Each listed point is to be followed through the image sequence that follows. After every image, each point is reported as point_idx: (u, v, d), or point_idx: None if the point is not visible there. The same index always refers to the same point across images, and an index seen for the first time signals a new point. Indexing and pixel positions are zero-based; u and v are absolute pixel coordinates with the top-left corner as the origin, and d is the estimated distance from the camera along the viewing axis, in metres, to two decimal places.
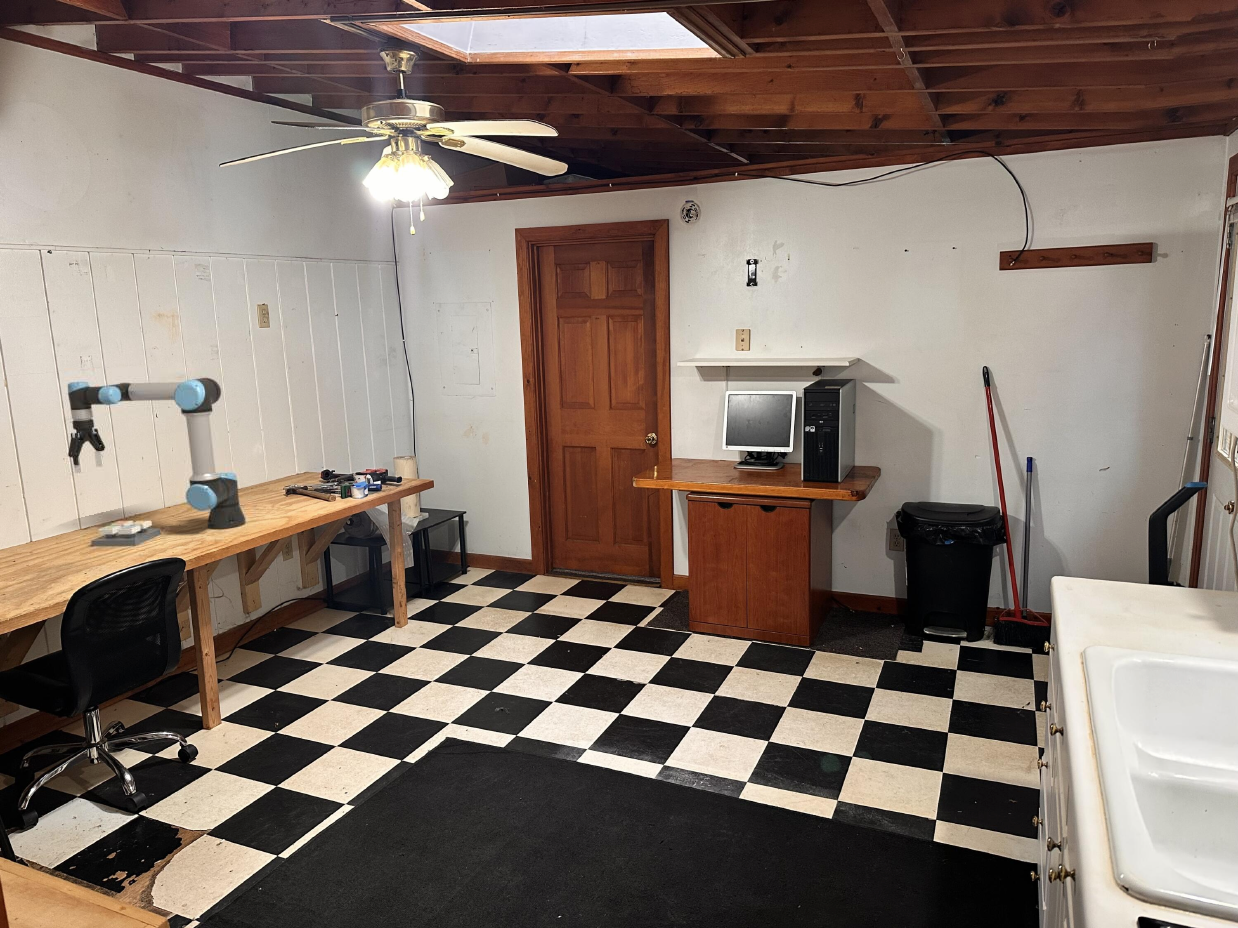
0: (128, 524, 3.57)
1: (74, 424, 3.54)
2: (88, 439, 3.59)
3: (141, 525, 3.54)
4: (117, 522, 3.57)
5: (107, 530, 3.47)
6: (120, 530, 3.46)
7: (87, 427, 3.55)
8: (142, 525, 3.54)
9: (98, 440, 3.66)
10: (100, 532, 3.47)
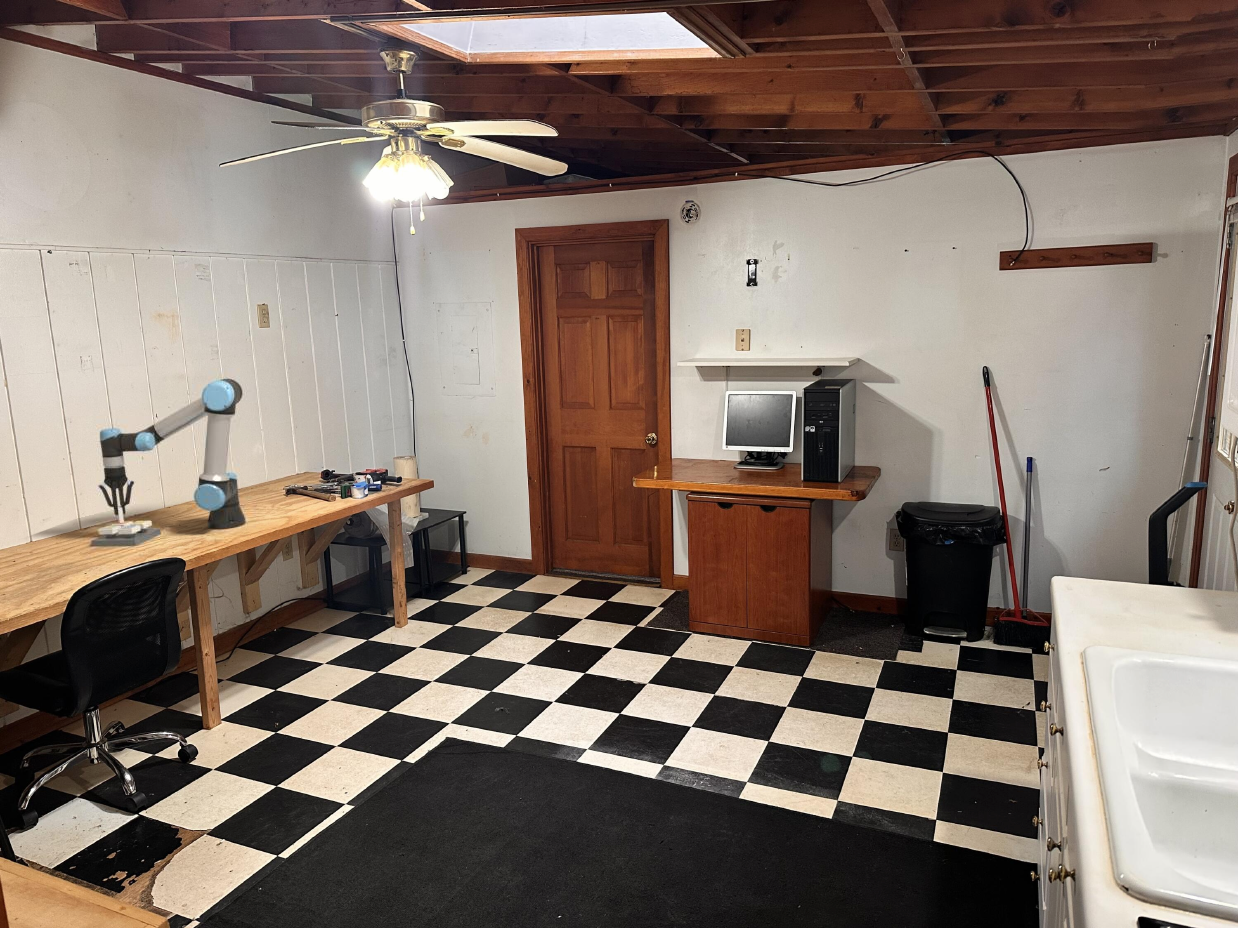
0: (128, 525, 3.57)
1: None
2: (118, 487, 3.54)
3: (141, 525, 3.54)
4: (117, 523, 3.57)
5: (107, 530, 3.47)
6: (120, 530, 3.46)
7: (111, 475, 3.50)
8: (142, 525, 3.54)
9: (127, 493, 3.57)
10: (100, 532, 3.47)
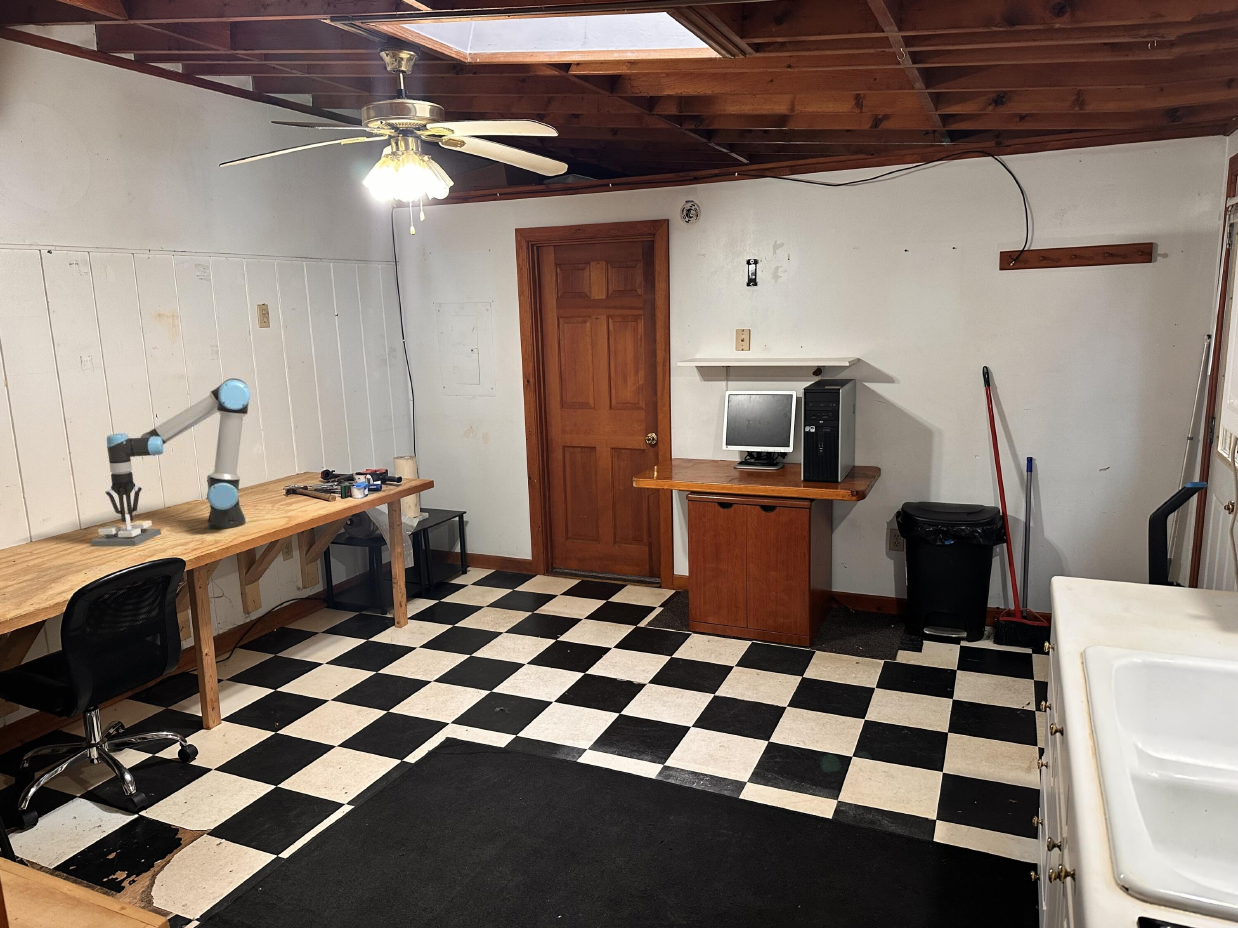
0: None
1: None
2: (125, 493, 3.46)
3: (141, 525, 3.54)
4: None
5: (107, 530, 3.47)
6: (120, 533, 3.47)
7: (118, 481, 3.42)
8: (142, 525, 3.54)
9: (134, 499, 3.49)
10: (100, 532, 3.47)
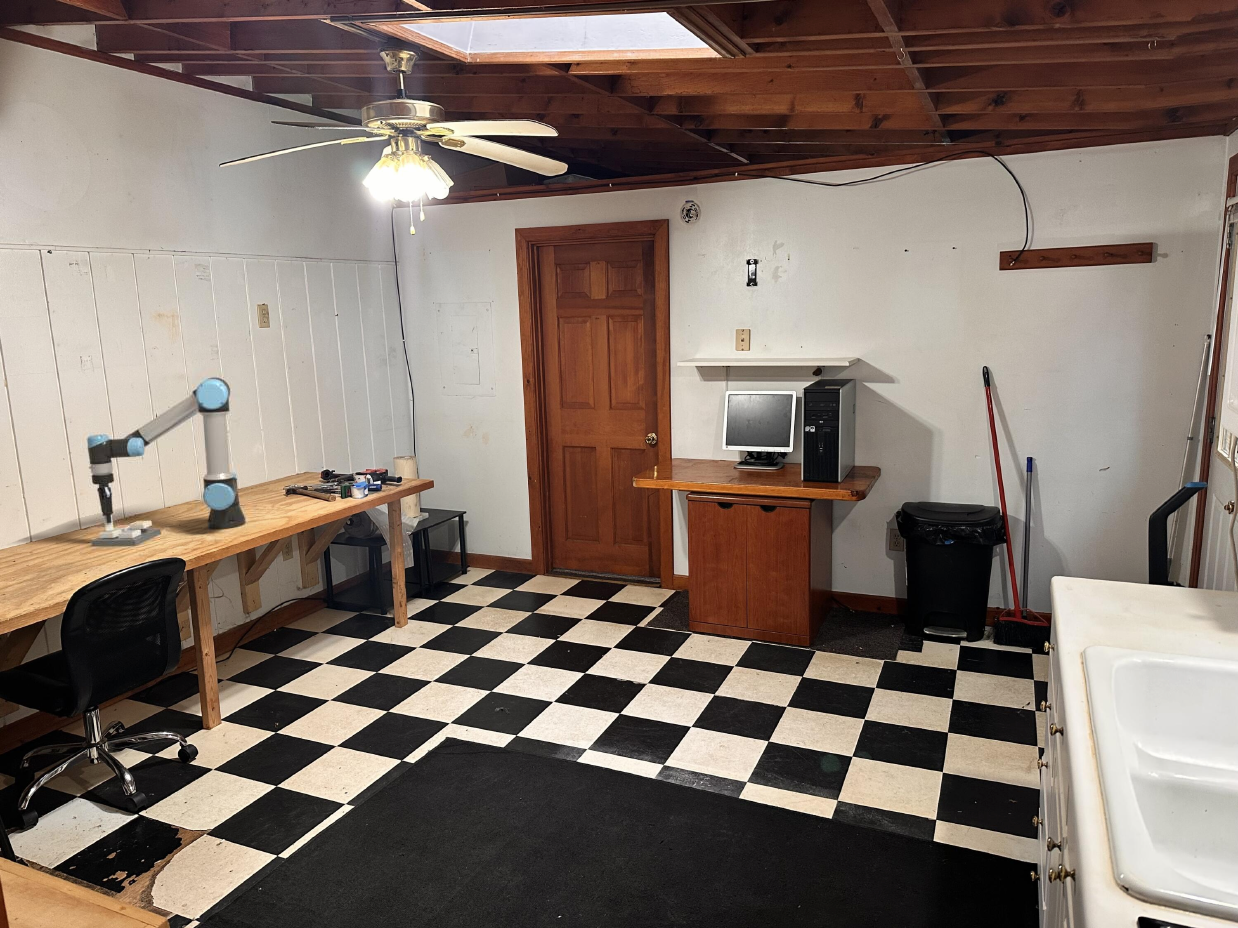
0: (129, 528, 3.57)
1: (100, 479, 3.42)
2: None
3: (141, 525, 3.54)
4: (118, 526, 3.57)
5: (108, 534, 3.47)
6: (121, 534, 3.47)
7: (113, 480, 3.46)
8: (142, 525, 3.54)
9: None
10: (101, 536, 3.47)
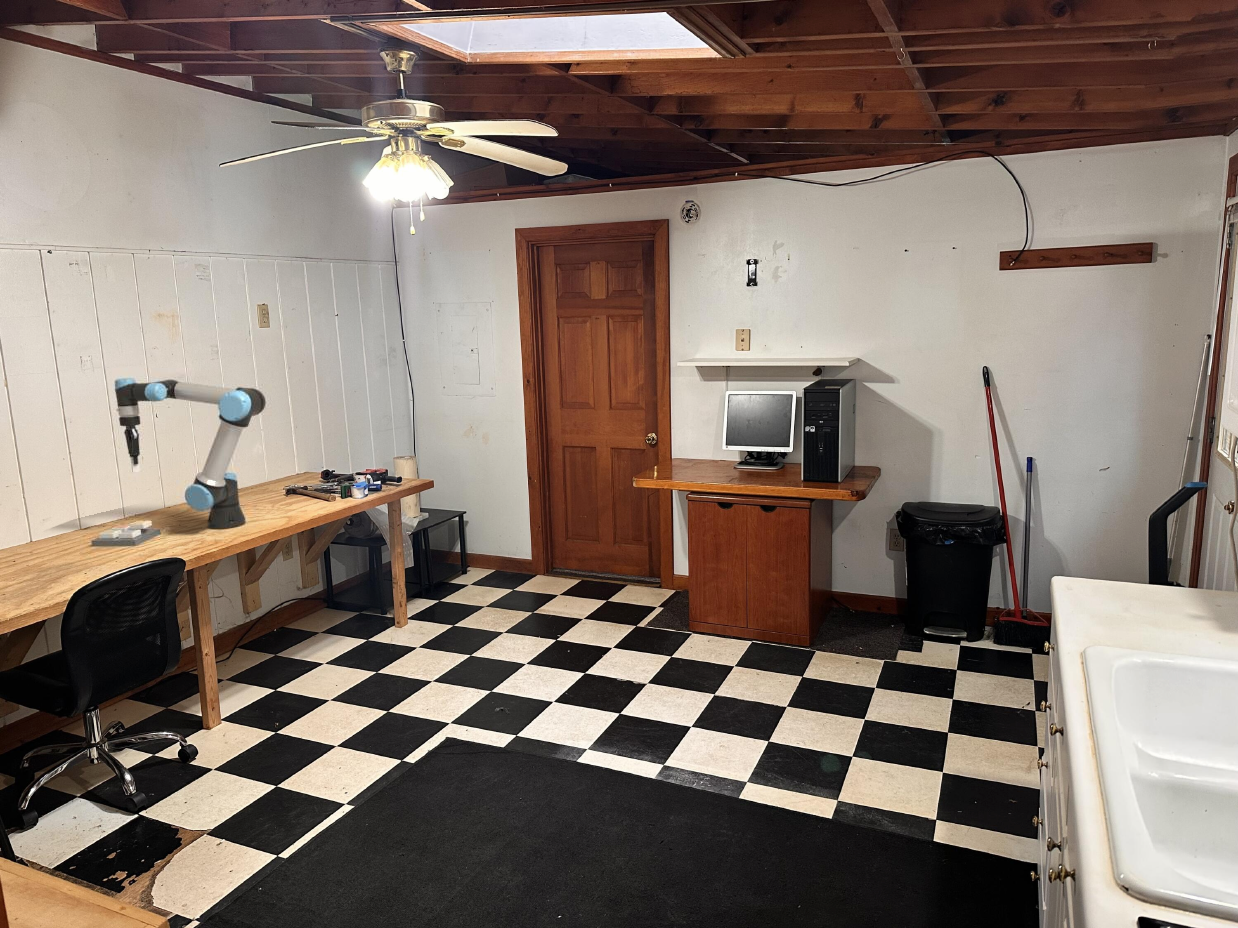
0: (129, 528, 3.57)
1: (128, 420, 3.54)
2: None
3: (141, 525, 3.54)
4: (118, 526, 3.57)
5: (108, 534, 3.47)
6: (121, 534, 3.47)
7: (139, 423, 3.58)
8: (142, 525, 3.54)
9: None
10: (101, 536, 3.47)
